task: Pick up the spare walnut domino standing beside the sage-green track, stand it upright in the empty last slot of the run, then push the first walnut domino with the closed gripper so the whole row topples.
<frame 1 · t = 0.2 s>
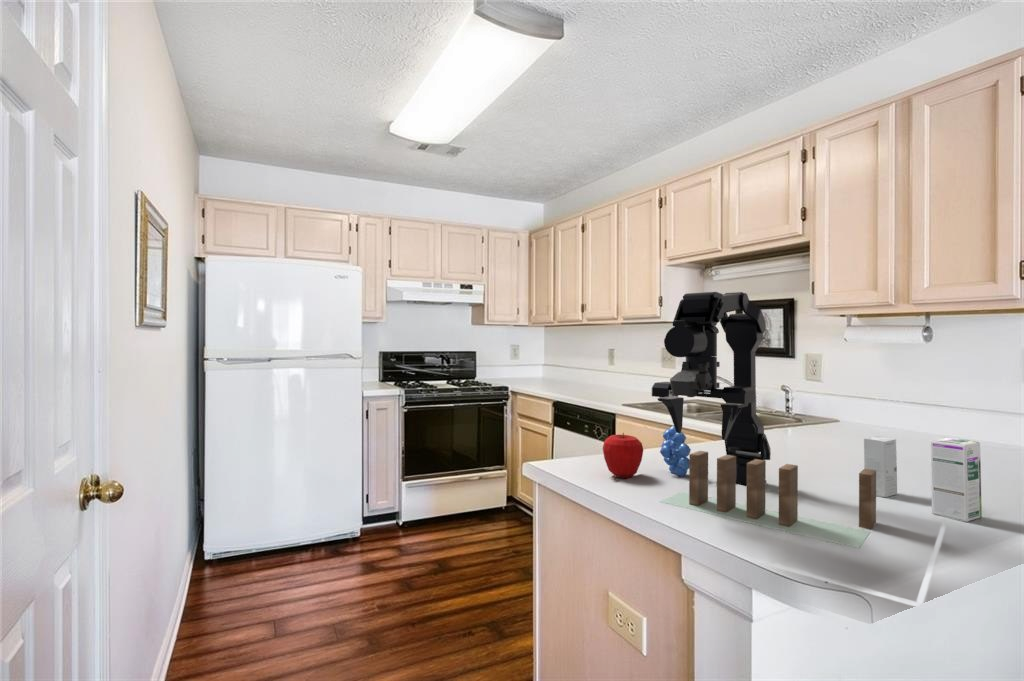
hand: (700, 436, 101), 15 cm above the counter, fingers open, 9 cm apart
domino 2: (726, 508, 100), point 1 cm above the counter, touching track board
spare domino: (867, 527, 92), on the counter
domino 3: (756, 515, 97), point 1 cm above the counter, touching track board
skincare box: (880, 494, 114), on the counter
grapes: (672, 476, 128), on the counter
domino 1: (698, 502, 104), point 1 cm above the counter, touching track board
syrup box: (955, 516, 99), on the counter
domino 4: (788, 522, 93), point 1 cm above the counter, touching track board
apple: (622, 477, 126), on the counter
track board: (756, 518, 97), on the counter
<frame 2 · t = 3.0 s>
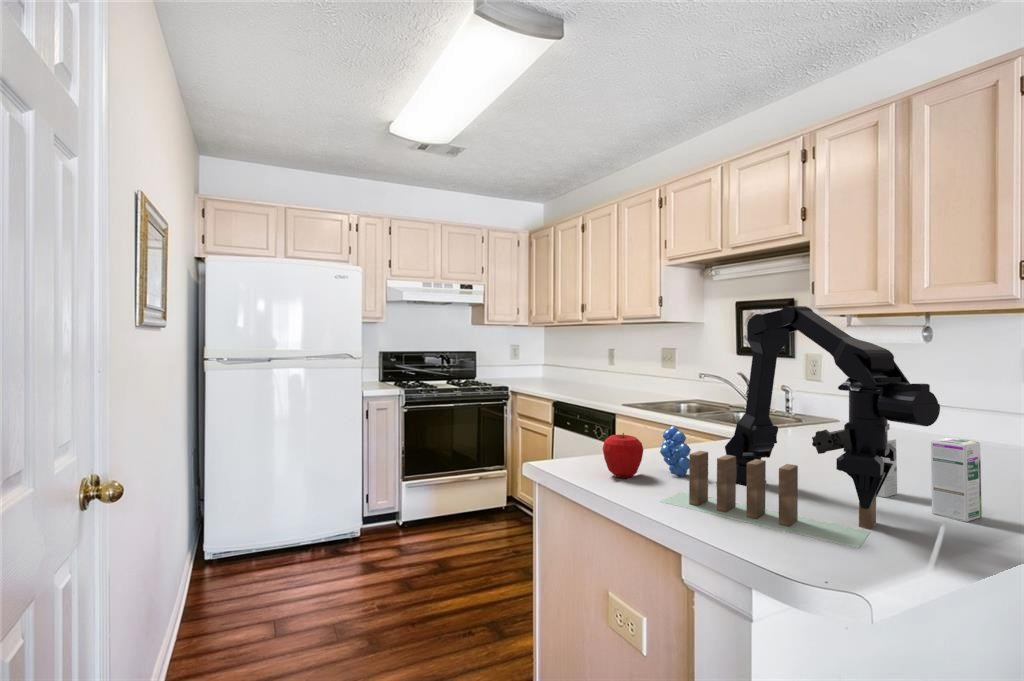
hand: (867, 505, 92), 4 cm above the counter, fingers closed on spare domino, 5 cm apart
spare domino: (867, 527, 92), on the counter, touching gripper
everything else where it was.
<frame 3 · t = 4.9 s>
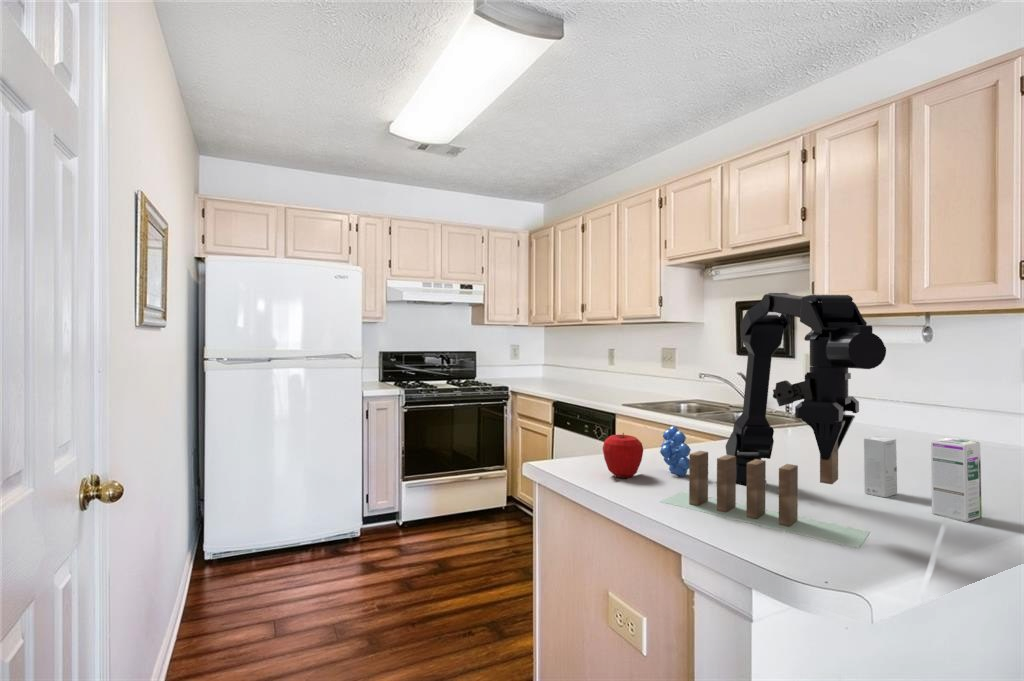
hand: (828, 457, 89), 13 cm above the counter, fingers closed on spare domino, 5 cm apart
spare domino: (829, 480, 89), point 9 cm above the counter, touching gripper
everything else where it was.
when the fingers open (6 cm above the counter, at t = 6.7 s): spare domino stays where it is, resting on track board.
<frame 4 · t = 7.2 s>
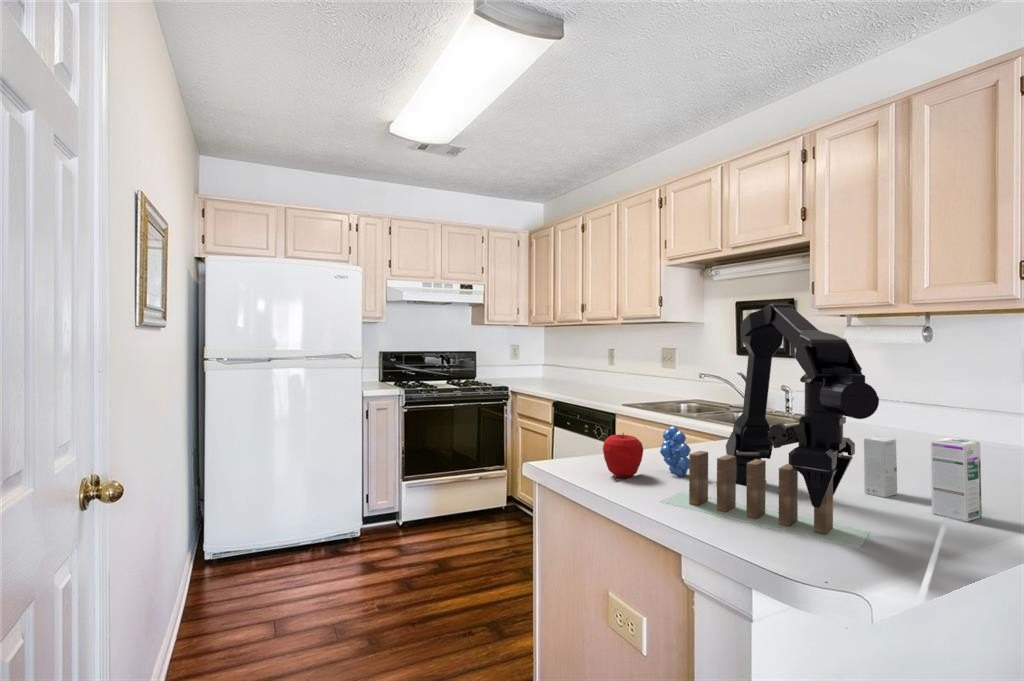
hand: (823, 501, 89), 6 cm above the counter, fingers open, 9 cm apart
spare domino: (823, 530, 89), point 1 cm above the counter, touching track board
everything else where it was.
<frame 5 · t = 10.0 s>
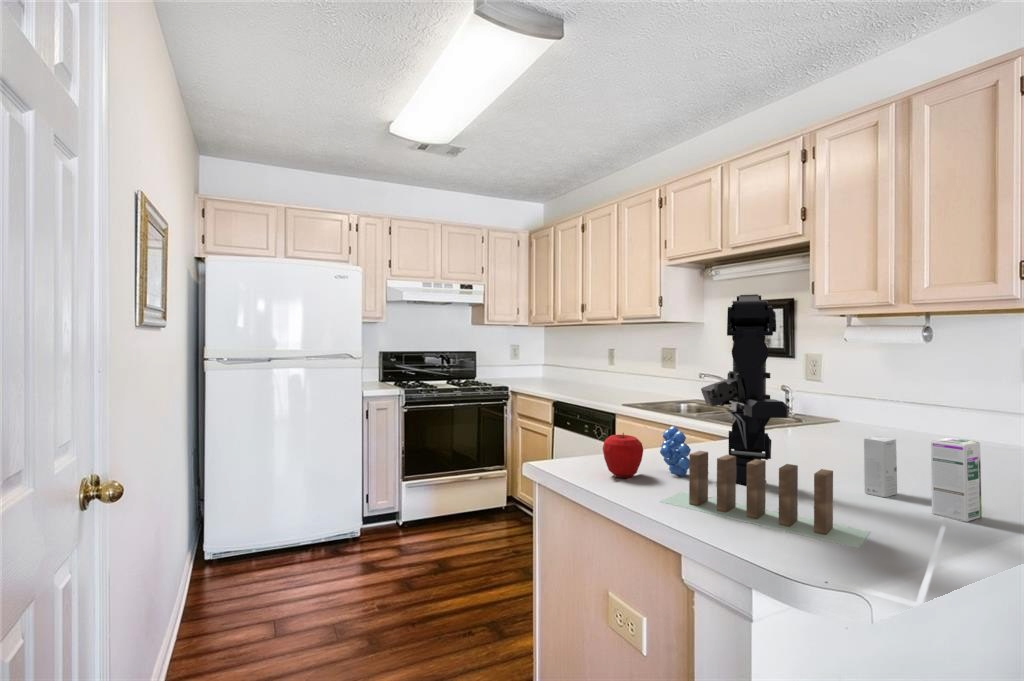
hand: (748, 449, 98), 13 cm above the counter, fingers closed
nothing on the counter moved.
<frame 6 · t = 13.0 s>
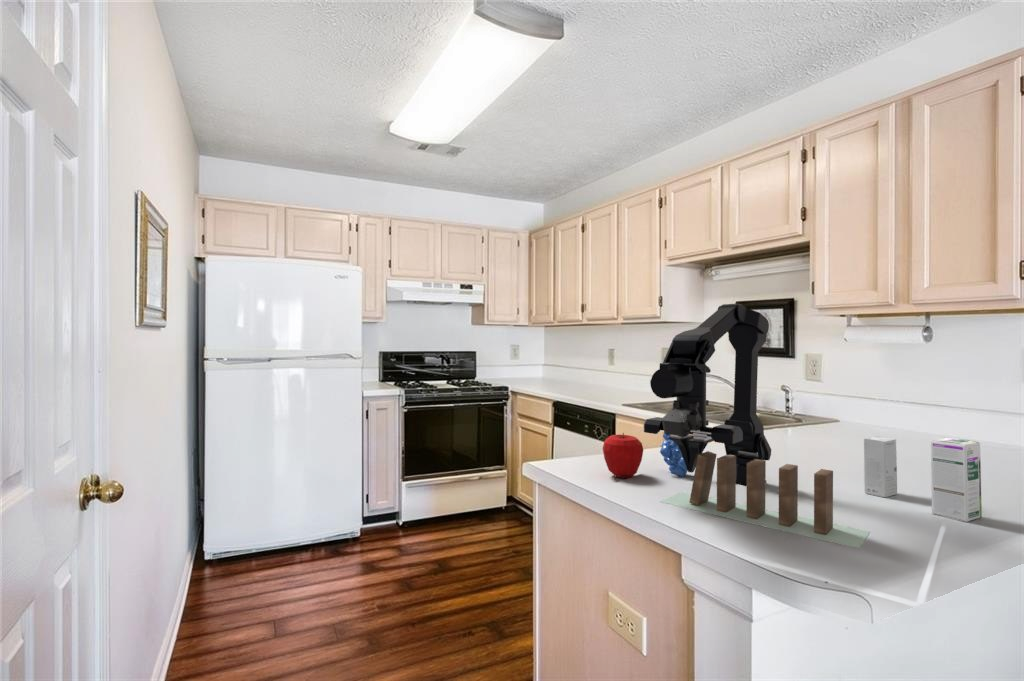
hand: (690, 472, 105), 6 cm above the counter, fingers closed
domino 1: (698, 501, 104), point 1 cm above the counter, tilted 10°, touching gripper, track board
everything else where it was.
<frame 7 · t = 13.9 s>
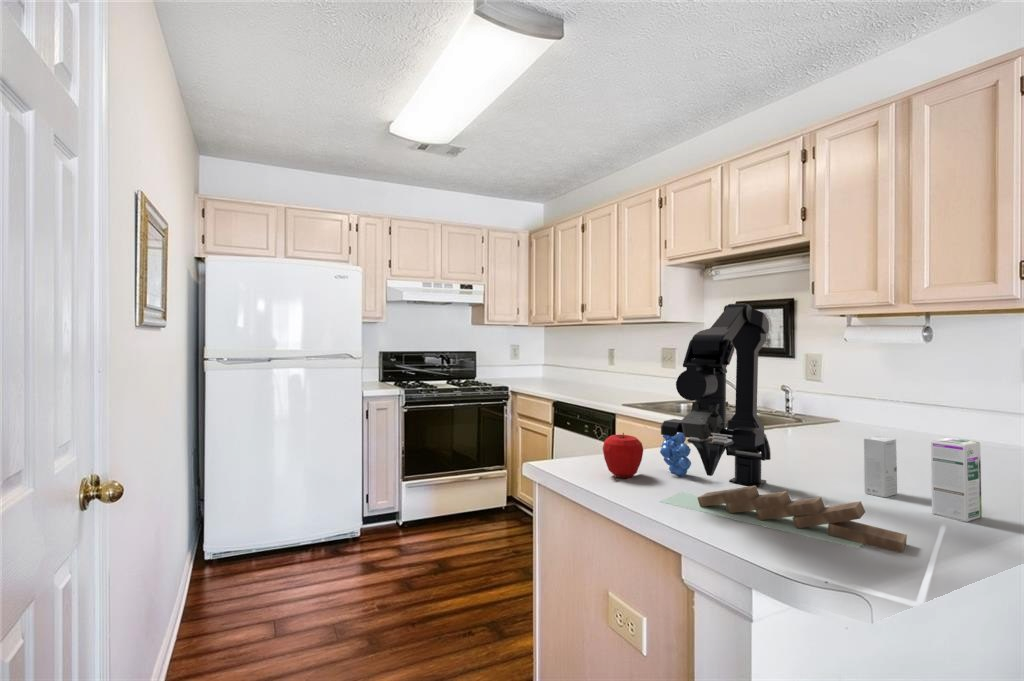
hand: (710, 475, 103), 7 cm above the counter, fingers closed
domino 2: (732, 505, 100), point 1 cm above the counter, tilted 71°, touching domino 1, domino 3, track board
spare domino: (831, 525, 88), point 2 cm above the counter, tilted 93°, touching domino 4, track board
domino 3: (761, 512, 96), point 1 cm above the counter, tilted 70°, touching domino 2, domino 4, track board
domino 1: (703, 499, 103), point 1 cm above the counter, tilted 71°, touching domino 2, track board
domino 4: (798, 519, 92), point 1 cm above the counter, tilted 67°, touching domino 3, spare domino
everything else where it was.
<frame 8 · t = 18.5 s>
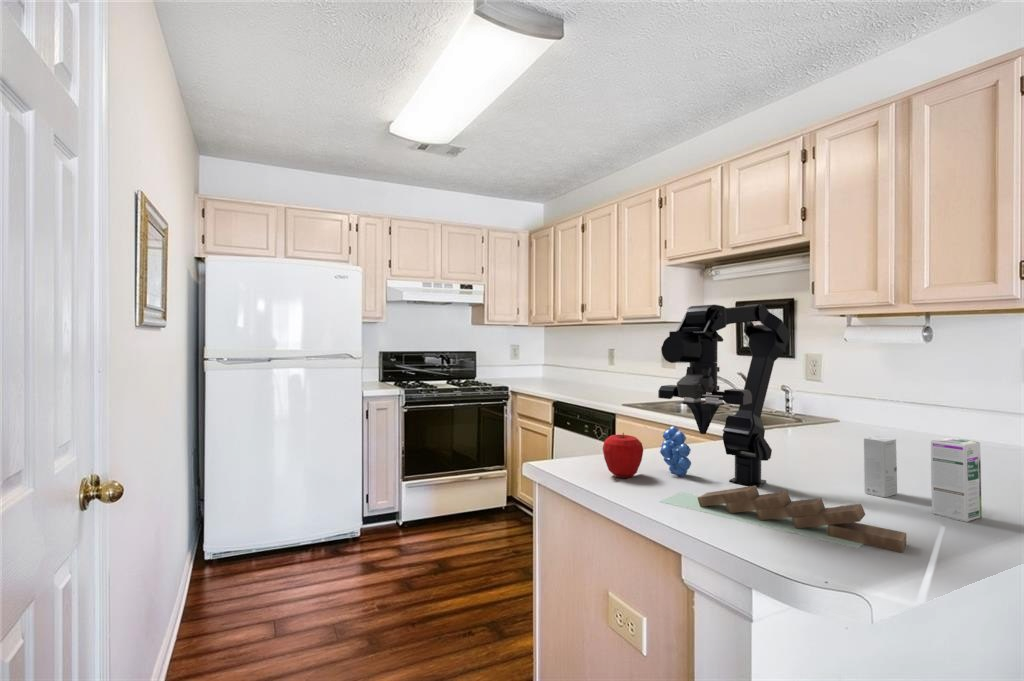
hand: (703, 433, 113), 13 cm above the counter, fingers closed
domino 4: (797, 519, 92), point 1 cm above the counter, tilted 70°, touching domino 3, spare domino, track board
everything else where it was.
at the end: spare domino tilted 90°; domino 1 tilted 71°; domino 3 tilted 71° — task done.
